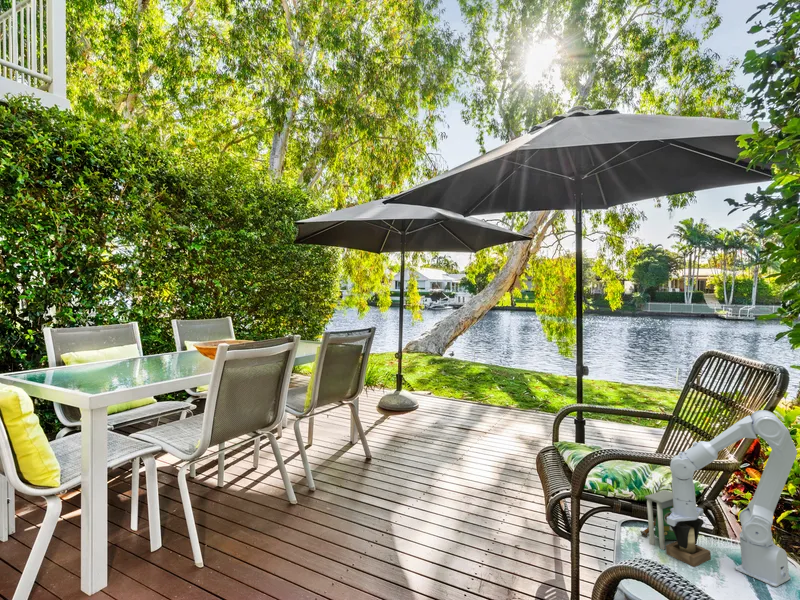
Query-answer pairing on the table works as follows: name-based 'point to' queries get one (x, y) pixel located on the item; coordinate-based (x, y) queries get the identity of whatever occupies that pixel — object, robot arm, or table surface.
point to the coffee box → (665, 525)
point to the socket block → (693, 560)
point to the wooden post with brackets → (647, 530)
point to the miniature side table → (663, 501)
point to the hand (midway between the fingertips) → (687, 544)
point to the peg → (690, 542)
